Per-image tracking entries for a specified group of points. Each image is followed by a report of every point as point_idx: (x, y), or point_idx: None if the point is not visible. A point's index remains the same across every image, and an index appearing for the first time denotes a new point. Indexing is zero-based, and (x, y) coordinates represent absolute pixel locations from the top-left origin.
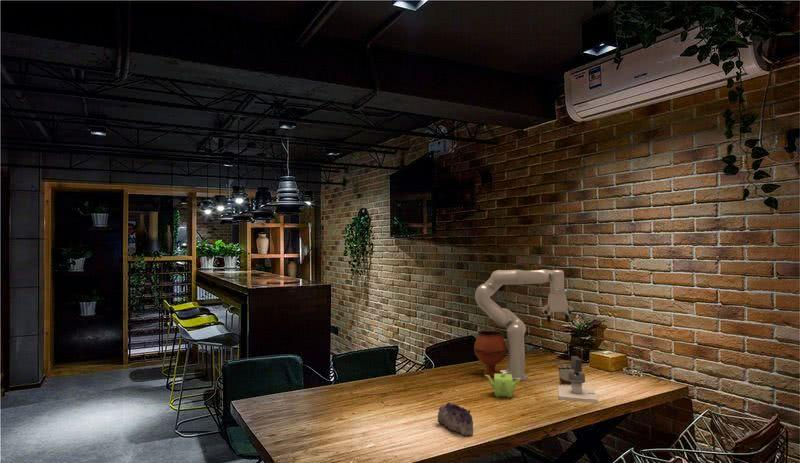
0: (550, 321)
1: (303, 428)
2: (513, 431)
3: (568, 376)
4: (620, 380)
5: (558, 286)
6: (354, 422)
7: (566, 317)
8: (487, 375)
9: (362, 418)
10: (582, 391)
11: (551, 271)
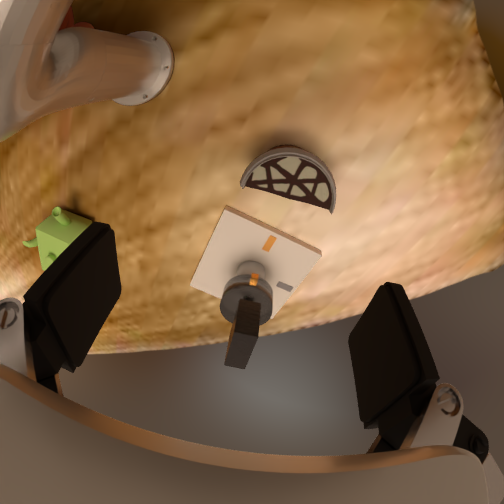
0: (115, 301)
1: None
2: (101, 351)
3: (222, 295)
4: (464, 180)
5: None
6: None
7: (359, 397)
8: (27, 243)
9: None
10: (272, 268)
11: None
